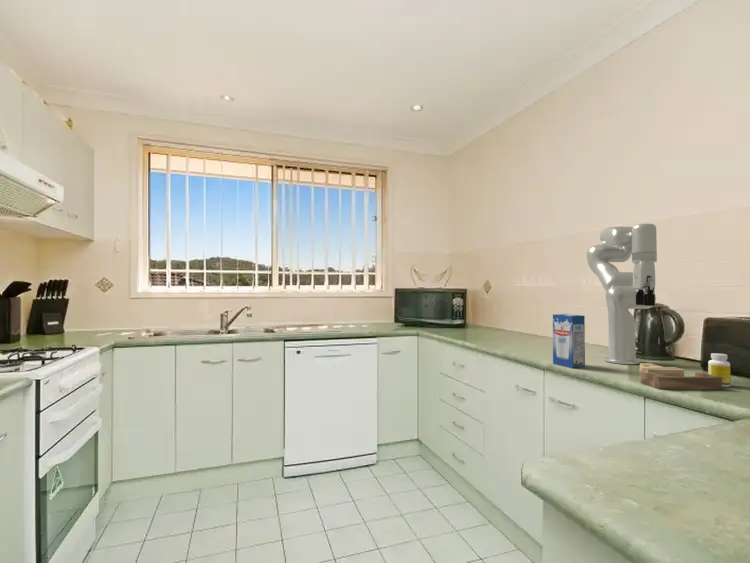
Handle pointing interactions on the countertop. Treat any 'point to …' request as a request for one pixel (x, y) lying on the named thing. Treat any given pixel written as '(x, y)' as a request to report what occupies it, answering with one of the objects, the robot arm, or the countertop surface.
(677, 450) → the countertop surface
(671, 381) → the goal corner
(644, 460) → the countertop surface
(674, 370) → the t block
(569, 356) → the milk carton
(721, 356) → the supplement bottle
